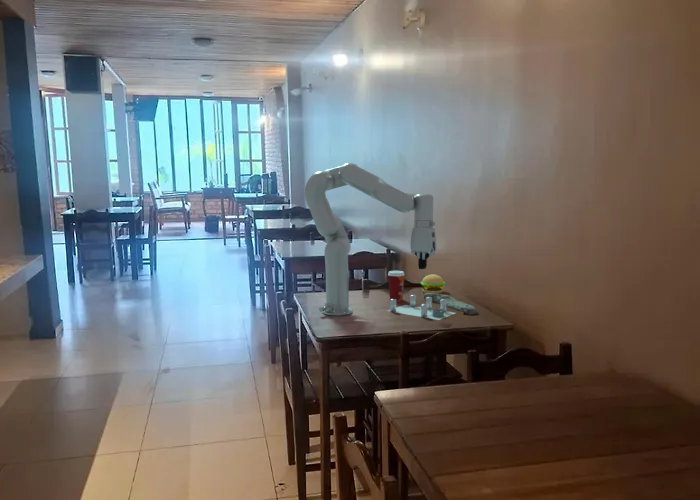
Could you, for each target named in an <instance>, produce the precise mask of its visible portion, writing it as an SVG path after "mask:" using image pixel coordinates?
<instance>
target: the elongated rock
mask: <svg viewBox="0 0 700 500" xmlns="http://www.w3.org/2000/svg"><path fill="white" fill-rule="evenodd" d="M426 297H432V303H435V304H437V305H440V300H441V299H446V300H447V308H449V309H453V310H456V311H460V312H463V314H465V315H476V314H477V311H478V309H476V307H475V306H474V305H471V304H469V303H466V302H463V301H460V300H458V299H457V298H454V297H453V296H450V295H449V294H442V293H439V294H436V293H434V292H431V293H424V294H423V299H424V300H426ZM475 313H476V314H475Z"/></svg>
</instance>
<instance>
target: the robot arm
mask: <svg viewBox="0 0 700 500" xmlns="http://www.w3.org/2000/svg"><path fill="white" fill-rule="evenodd" d="M346 186H350V187H351V188H354V189H356V190H358V191H360V192H361V193H363V194H365V195H367V196H369V197H371V198H372V199H375V200H377V201H379V202H380V203H383V204H384V205H386V206H389V207H390V208H392V209H394V210H395V211H397V212H400V213H403V214H405V213H409V212H410V211H414V213H413V214H414V217H413V218H414V219H413V220H414V222H413V223H414V224H413V227H412V230H411V235H410V236H411V237H410V253H411V254H413V255H415V256H416V259H417V260H418V261H417V262H418V265H417V266H418V270H425V269H426V268H427V266H428V265H427V262H428V261H427V260H428V259H429V258H430V257H433V256H435V255H436V254H435V252H436V251H437V236H436V230H435V228H434V226H436V222H434V196H433V194H430V193H418V194H415V193H408V192H403V191H401V190H400V189H397V188H396V187H394V186H393V185H390V184H389V183H388V182H386V181H385V180H384V179H382V178H381V177H379V176H377V175H376V174H373V173H372V172H369V171H367V170H365V168H364V169H363V168H362V167H360V166H358V165H357V164H355V163H353V162H346V163H344V164H343V165H340V166H337V167H333V168H328V169H326V170H319V171H316V172H314V173H313V174H312V175H311V176H310V177H309V178H308V180H307V182H306V183H305V186H304V187H305V188H304V198H305V201H306V204H307V206H308V209H309V212H310V215H311V217H312V220H313V222H314V225H315V227H316V230H317V232H318V233H319V235H321V236H322V237H324V240H325V242H326V245H325V247H324V263H325V303H324V305H323V306H320V307H318V310H319V312H322V314H324V315H326V316H333V317H334V316H336V317H337V316H347V315H351V314H352V313H353V309H352V308H351V307H349V301H350V300H349V295H350V294H349V290H350V289H349V288H350V287H349V254H350V251H351V242H350V239H349V237H348V234H347V231H346V230H345V227H344V225H343V222H342V220H341V218H340V217H339V216H338V215H337V214H336V213H334V212H333V210H332V208H331V205H330V203H329V202H330V201H329V200H328V198H327V195H326V192H327V191H330V190H334V189H337V188H341V187H346Z"/></svg>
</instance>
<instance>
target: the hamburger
mask: <svg viewBox="0 0 700 500" xmlns="http://www.w3.org/2000/svg"><path fill="white" fill-rule="evenodd" d="M420 285H421V286H422V292H423V293H424V294H425V293H431V292H434V293H436V294H442V293H444V292H443V291H444V286H445V285H446V282H445V281H444V280H443V278H442V277H441V276H440V275H438V274H435V273H434V274H433V273H432V274H428V275H425V276H424V277H423V278H422V280H421V281H420Z"/></svg>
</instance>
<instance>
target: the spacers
mask: <svg viewBox="0 0 700 500" xmlns="http://www.w3.org/2000/svg"><path fill="white" fill-rule="evenodd" d="M416 303H417V295H416V294H409V305H410V307H417V304H416ZM389 304H390V305H389V310H390V311H389V312H390V313H396V308H397V301H396V299H390V298H389ZM420 307H421V317H420V318H424V317H427V310H432V309H433V302H432V297H426V299H425V303H421V304H420ZM447 308H448V307H447V300H446V299H441V300H440V304H439V309H443V310H444V312H446V311H447Z"/></svg>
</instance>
